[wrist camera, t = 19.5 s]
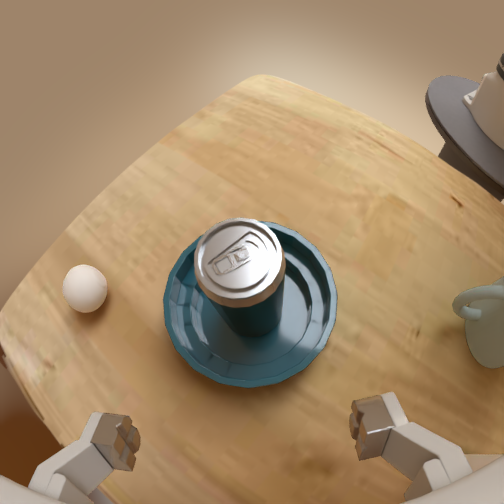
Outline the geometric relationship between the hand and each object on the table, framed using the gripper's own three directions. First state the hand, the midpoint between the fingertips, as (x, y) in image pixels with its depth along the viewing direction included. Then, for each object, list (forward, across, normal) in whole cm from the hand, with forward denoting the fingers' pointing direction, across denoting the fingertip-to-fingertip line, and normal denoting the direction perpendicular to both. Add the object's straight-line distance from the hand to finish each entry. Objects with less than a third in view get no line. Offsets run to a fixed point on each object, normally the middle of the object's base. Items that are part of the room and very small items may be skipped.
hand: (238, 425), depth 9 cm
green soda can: (+18, 0, +6) cm, 18 cm away
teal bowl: (+18, 0, +6) cm, 19 cm away
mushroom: (+20, +17, +4) cm, 26 cm away
